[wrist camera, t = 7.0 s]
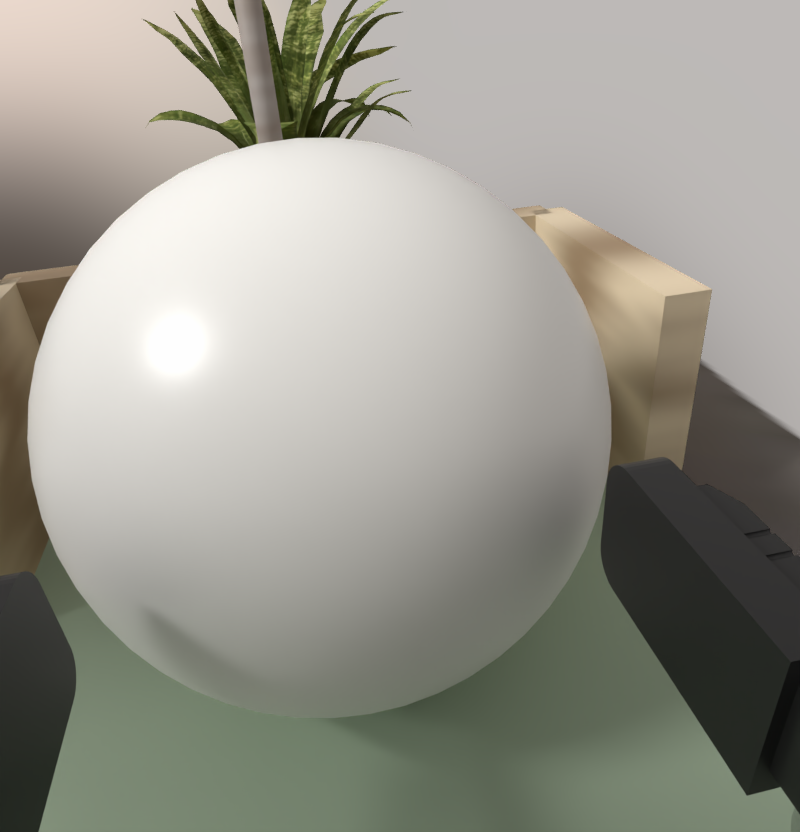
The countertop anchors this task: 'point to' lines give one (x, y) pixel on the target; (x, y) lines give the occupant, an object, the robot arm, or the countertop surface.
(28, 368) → the wooden u-shaped frame
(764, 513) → the countertop surface
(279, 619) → the ball
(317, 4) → the house plant
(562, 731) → the green mat
